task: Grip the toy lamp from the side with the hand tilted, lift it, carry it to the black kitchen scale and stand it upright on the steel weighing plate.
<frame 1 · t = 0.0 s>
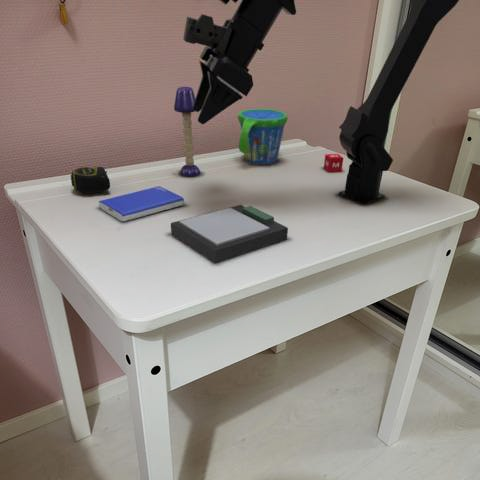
hand: (197, 116, 81), 15 cm above the table, tool tilted 35°, fingers open, 9 cm apart
hard drive: (142, 208, 87), on the table
dice: (332, 170, 108), on the table
tape measure: (95, 190, 94), on the table
snack cup: (260, 161, 112), on the table
scale: (228, 237, 77), on the table
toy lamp: (188, 175, 103), on the table
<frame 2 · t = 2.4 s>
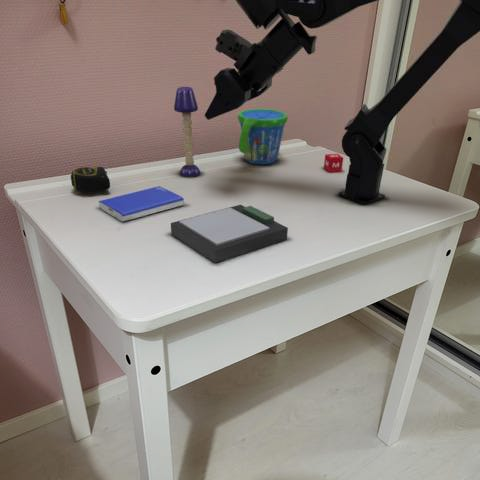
hand: (215, 112, 94), 13 cm above the table, tool tilted 45°, fingers open, 9 cm apart
nothing on the table moved.
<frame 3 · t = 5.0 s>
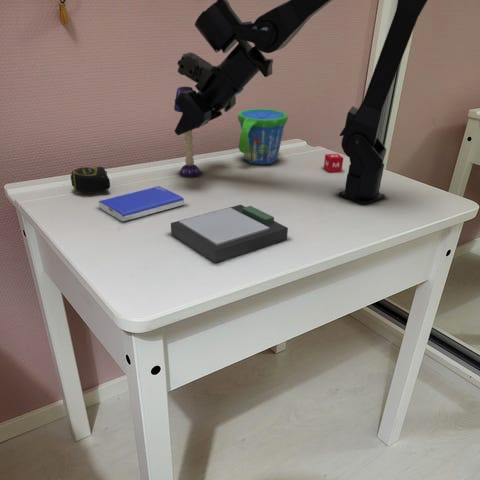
hand: (180, 130, 99), 9 cm above the table, tool tilted 45°, fingers closed on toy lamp, 4 cm apart
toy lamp: (188, 175, 103), on the table, touching gripper
everything else where it was.
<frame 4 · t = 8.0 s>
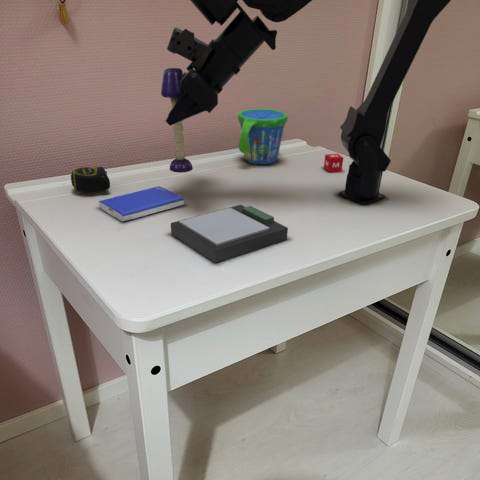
hand: (168, 120, 85), 13 cm above the table, tool tilted 45°, fingers closed on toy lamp, 4 cm apart
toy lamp: (179, 170, 90), point 4 cm above the table, touching gripper
everything else where it was.
when the fingers open (11 cm above the table, at t = 11.6 s): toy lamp stays where it is, resting on scale.
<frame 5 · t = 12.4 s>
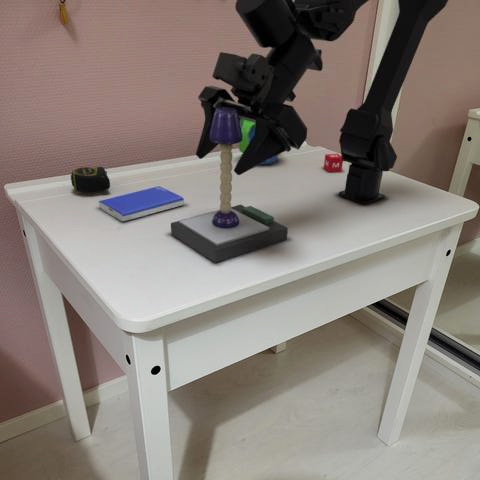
hand: (216, 164, 70), 12 cm above the table, tool tilted 45°, fingers open, 9 cm apart
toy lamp: (225, 225, 76), point 2 cm above the table, touching scale
everything else where it was.
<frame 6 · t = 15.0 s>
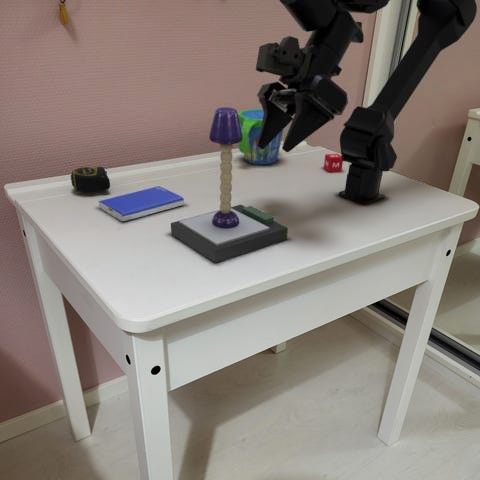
hand: (271, 149, 75), 12 cm above the table, tool tilted 35°, fingers open, 9 cm apart
nothing on the table moved.
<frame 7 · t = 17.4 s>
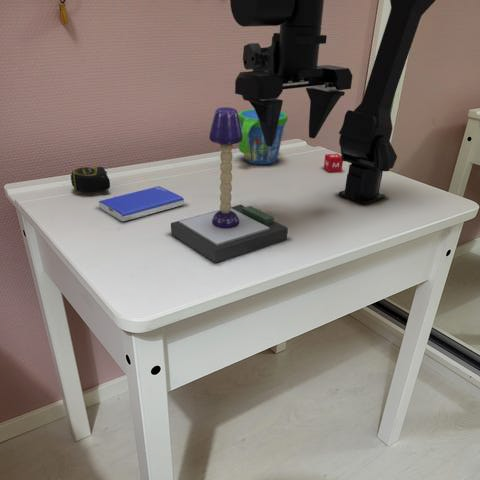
hand: (291, 141, 76), 13 cm above the table, tool pointing down, fingers open, 9 cm apart
nothing on the table moved.
at the end: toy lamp inside the target area on the scale (0.2 cm from its centre), point 2.2 cm above the scale's base; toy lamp tilted 0°; the gripper is holding nothing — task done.
